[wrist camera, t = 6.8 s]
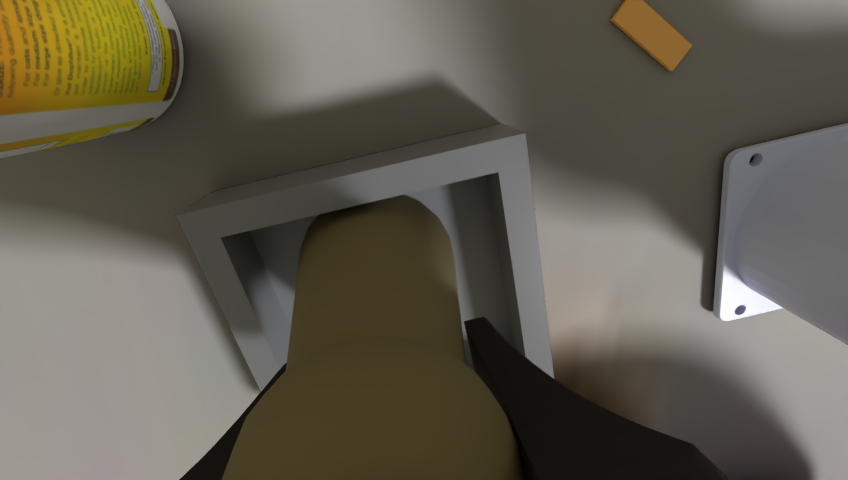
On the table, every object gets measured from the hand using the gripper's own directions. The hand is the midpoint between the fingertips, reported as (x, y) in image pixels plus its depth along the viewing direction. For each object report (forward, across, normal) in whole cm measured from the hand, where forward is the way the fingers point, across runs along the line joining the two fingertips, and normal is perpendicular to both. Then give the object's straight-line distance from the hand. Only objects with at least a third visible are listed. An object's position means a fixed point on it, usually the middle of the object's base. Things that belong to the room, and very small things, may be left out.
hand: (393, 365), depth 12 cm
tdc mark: (+5, -11, -7) cm, 14 cm away
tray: (+5, 0, 0) cm, 5 cm away
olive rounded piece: (+5, 0, -1) cm, 5 cm away
